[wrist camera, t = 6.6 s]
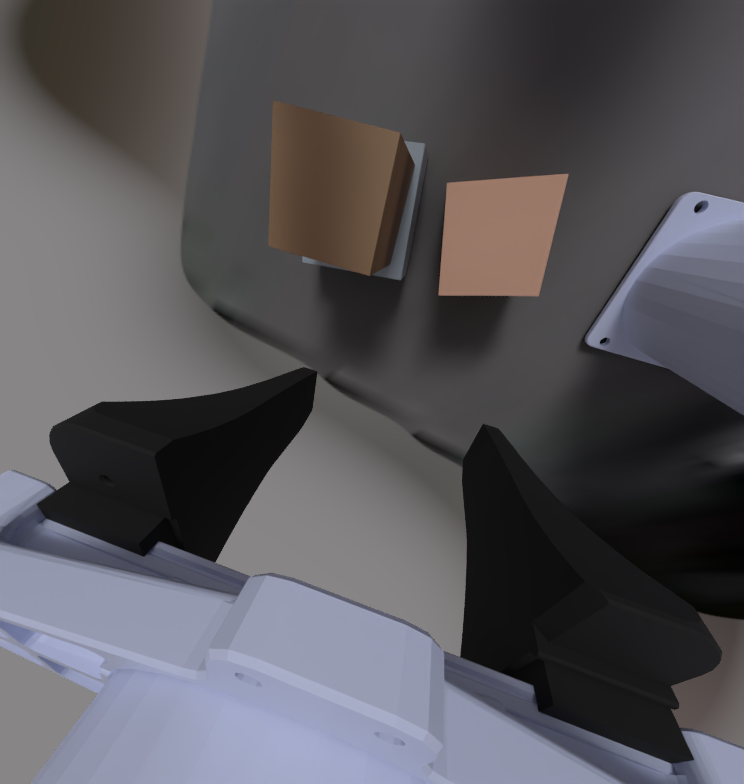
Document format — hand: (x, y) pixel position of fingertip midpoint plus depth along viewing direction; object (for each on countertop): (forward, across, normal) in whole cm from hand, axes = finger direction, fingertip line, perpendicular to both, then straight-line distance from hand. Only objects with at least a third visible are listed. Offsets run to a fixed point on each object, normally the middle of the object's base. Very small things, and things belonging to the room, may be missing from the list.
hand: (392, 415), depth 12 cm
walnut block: (+7, +5, -7) cm, 11 cm away
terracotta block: (+10, -2, -7) cm, 12 cm away
